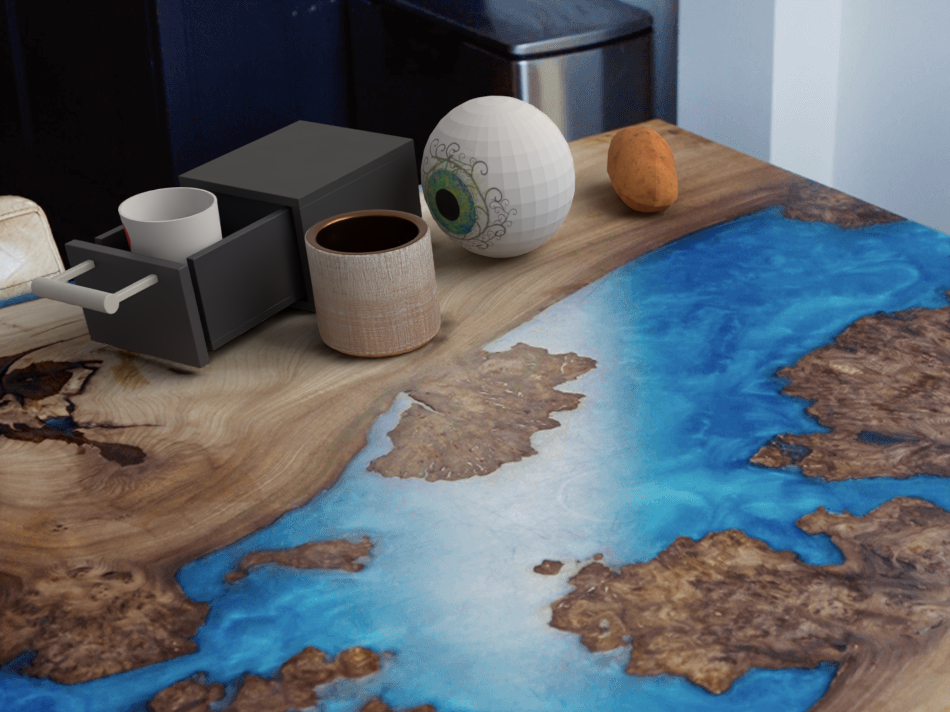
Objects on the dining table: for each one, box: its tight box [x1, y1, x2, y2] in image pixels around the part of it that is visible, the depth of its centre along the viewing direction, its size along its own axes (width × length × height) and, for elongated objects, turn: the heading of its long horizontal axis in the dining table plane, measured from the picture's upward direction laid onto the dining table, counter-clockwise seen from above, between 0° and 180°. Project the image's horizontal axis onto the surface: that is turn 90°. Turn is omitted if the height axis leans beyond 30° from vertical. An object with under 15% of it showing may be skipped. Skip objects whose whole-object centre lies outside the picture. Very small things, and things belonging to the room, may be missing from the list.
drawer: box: [30, 190, 307, 369], centre depth 123 cm, size 23×13×9 cm, turn 153°
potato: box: [606, 125, 679, 213], centre depth 151 cm, size 7×13×7 cm, turn 10°
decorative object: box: [420, 95, 576, 259], centre depth 138 cm, size 15×15×15 cm
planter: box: [305, 209, 442, 359], centre depth 124 cm, size 11×11×10 cm
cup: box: [117, 186, 222, 265], centre depth 123 cm, size 8×8×10 cm
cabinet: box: [178, 119, 423, 314], centre depth 137 cm, size 18×14×11 cm
